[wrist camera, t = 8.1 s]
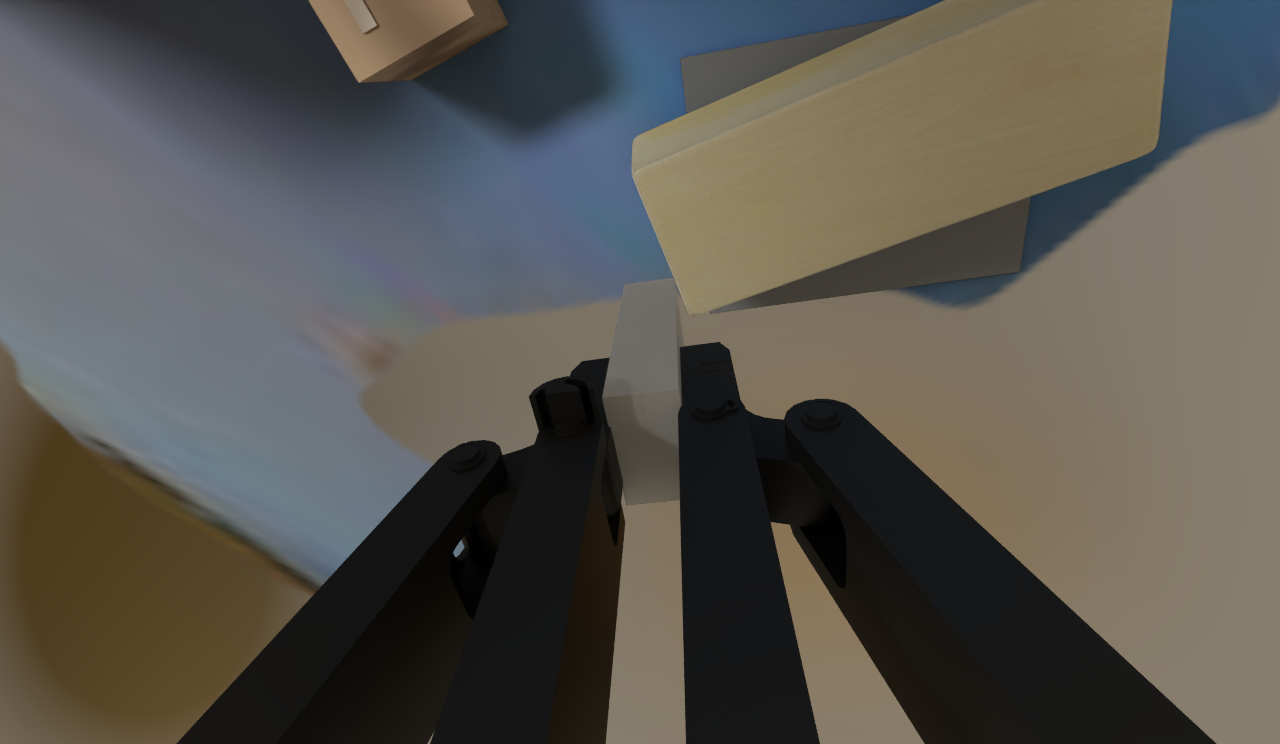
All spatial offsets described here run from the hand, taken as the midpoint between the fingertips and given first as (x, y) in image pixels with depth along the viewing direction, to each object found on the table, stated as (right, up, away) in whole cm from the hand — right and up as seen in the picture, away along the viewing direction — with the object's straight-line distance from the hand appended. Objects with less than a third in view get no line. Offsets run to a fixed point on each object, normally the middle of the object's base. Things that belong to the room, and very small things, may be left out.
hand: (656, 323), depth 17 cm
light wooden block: (0, +6, +12) cm, 14 cm away
